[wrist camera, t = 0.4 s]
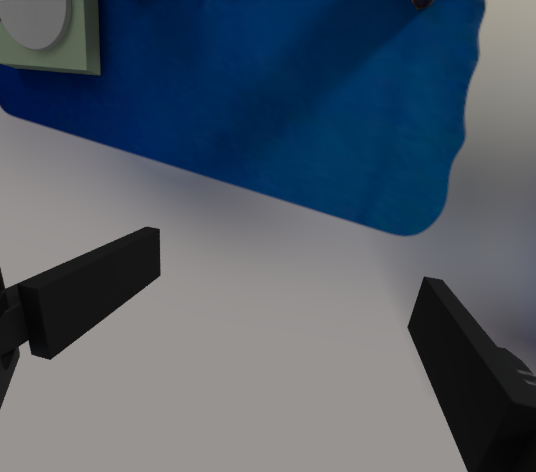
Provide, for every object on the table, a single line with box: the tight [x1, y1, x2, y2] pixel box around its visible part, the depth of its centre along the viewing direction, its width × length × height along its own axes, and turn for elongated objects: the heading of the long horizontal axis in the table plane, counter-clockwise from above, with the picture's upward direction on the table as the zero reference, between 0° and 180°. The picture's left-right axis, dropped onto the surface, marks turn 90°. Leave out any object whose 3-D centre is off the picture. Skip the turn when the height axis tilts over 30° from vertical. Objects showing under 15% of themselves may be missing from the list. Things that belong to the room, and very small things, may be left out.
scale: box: [0, 0, 101, 76], centre depth 40 cm, size 16×16×3 cm
